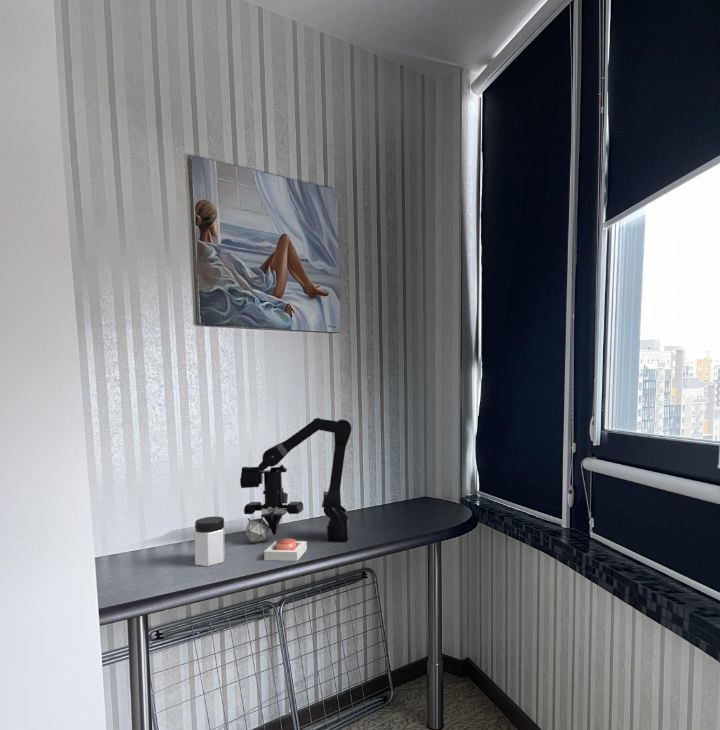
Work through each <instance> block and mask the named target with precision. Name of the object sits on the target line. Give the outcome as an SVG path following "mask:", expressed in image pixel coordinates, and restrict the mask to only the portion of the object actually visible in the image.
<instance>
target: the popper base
mask: <svg viewBox="0 0 720 730" xmlns="http://www.w3.org/2000/svg"><path fill="white" fill-rule="evenodd" d="M276 541H277V540H275V541H274V542H273V543H272V544H271V545H270V546H269V547H267V548H266V549H265V550H264V552H263V555H264V561H276V562H277V561H279V562H280V561H283V562H284V561H285V562H297V561H299V560H300V558H301V557H302V556H303V555H304V554H305V552H306V551H307V549H308V545H307V544H308V542H307V541H306V540H304V541H303V540H302V541H301V540H296V548H295V549H294V550H276Z"/></svg>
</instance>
